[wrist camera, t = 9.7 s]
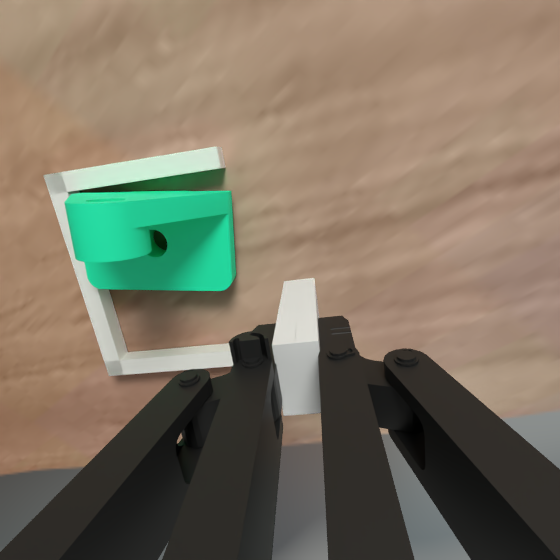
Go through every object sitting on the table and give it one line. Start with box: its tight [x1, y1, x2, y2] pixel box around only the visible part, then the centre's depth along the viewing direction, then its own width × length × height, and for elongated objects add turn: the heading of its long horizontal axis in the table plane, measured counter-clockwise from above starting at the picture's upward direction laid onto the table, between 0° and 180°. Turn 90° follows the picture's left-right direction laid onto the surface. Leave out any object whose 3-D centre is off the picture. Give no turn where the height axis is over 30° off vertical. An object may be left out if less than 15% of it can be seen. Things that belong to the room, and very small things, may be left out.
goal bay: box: [44, 147, 233, 376], centre depth 30 cm, size 14×18×2 cm
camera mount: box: [64, 191, 236, 291], centre depth 25 cm, size 12×8×10 cm, turn 91°
